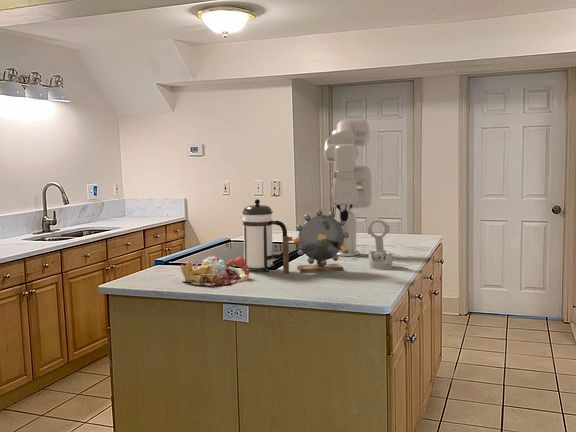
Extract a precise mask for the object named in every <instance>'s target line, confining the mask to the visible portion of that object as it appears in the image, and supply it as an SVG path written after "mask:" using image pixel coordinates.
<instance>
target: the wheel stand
mask: <svg viewBox="0 0 576 432" xmlns="http://www.w3.org/2000/svg"><path fill="white" fill-rule="evenodd" d="M293 239H294V237H293V236H288V235H287V236H283V235H282V251H283V257H282V261H283V262H282V264H283V265H282V272H283V274H289V273H290V257H289V256H290V254H289V253H290V252H289V251H290V249H289V248H290V247H289V246H290V245H289V244H290V243H289V242H293ZM296 269H297V271H299V272H300V273H305V274H306V273H321V272H322V273H323V272H339V271H340V272H342V271H344V266H342V265H341V264H339V263H327V264H326V265H325V266H322V265H321V264H320V261H318V260H316V264H303V265H301V264H300V265H299V264H298V265H296Z"/></svg>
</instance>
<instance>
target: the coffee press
mask: <svg viewBox="0 0 576 432" xmlns="http://www.w3.org/2000/svg"><path fill="white" fill-rule="evenodd" d="M260 203H261V200H260V199H258V198H257V199H255V200H254V204H252V205H247V206H245V207H244V208H243V211H242V212H241V215H240V217H239V218H240V219H242V225H243V259H244V260H245V265H247V266H248V270H250V269H262V270H263V272H264V273H268V272H269V270H270V269H269V268H271V267H272V266H274V267H275V264H274V263H273V260H276V259H278V260H279V259H283V250H282V251H281V253H279V254H273V226H274V225H275V226H278V227H280V228H281V230H282V237H283V236H288V231H287V226H286V225H285V223H283V222H282V221H279V220H273V212H274V211H273V210H272V208H271V207H270V206H269V205H264V204H260Z"/></svg>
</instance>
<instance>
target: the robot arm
mask: <svg viewBox="0 0 576 432" xmlns="http://www.w3.org/2000/svg"><path fill="white" fill-rule="evenodd" d="M369 143H370V125H369V123H368V121H367V120H366V119H363V118H352V119H351V118H350V119H349V118H347V119H342V120H340V121H339V122H338V123H337V124H336V129H334V130H332V132H331V136H329V137H327V139H326V140H325V142H324V147H323V159H324V160H325V161H326V162H328V163H334V171H333V172H332V173H331V174H330V176H331V177H333V178H334V179H332V183H331V193H330V199H331V200H330V201H331V203H330V207H332V208H335V211H336V212H335V217H336V221H337V222H338V221H339V220H341V221H344V222H345V224H344V226H341V227H342V229H343V232H347V233H348V234H349V237H348V238H344V242H343V244H344V245H345V246H347V247H348V248H349V252H348V253H344V252H342V251H339V252H338V253H337V254H336V255H337V256H338V257H354V256H355V257H356V256H359V255H360V251H359V250H357V217H356V214H355V213H354V212H353V211H352V209H353V210H354V209H355V210H357V209H362V210H363V209H369V208H370V207H371V206H372V201H373V200H372V199H373V198H372V194H373V192H372V191H373V190H372V170H371V168H370V167H369V166H368V165H357V163H356V160H358V158H359V154H360V153H359V148H358V147H366V146H368V144H369ZM358 186H359V187H360V188H358Z"/></svg>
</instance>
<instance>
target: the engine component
mask: <svg viewBox="0 0 576 432" xmlns="http://www.w3.org/2000/svg"><path fill="white" fill-rule="evenodd" d="M375 223H380V224H382V225H383V228H384V231H383V233H382V234H380V235H379V234H378V235H377V234H375V233H374V232H373V226H374V224H375ZM390 230H391V229H390V225H389V224H387V222H385V220H383V219H379V218H377V219H374V220H373V221H371V222H370V223H369V225H368V226H366V232H367V235H370V236H371V237H372V238H374V241H375V242H374V243H375V250H369V251H368V268H370V269H374V270H389V269H392V268H393V251H388V252H387V250H385V249H384V248H385V247H384V237H385V236H386V235H387V234H390Z"/></svg>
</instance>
